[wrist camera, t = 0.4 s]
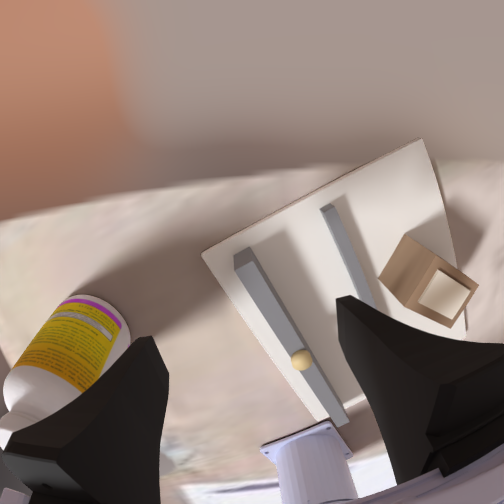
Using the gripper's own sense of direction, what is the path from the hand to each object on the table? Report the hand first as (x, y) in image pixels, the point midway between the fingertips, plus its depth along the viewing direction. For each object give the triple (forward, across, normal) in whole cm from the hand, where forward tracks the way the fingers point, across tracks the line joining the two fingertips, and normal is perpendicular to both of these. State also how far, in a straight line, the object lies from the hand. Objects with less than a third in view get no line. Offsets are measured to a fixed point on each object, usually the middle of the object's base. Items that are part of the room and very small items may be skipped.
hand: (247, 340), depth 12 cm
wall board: (+10, -9, +7) cm, 15 cm away
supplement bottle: (+10, +13, +4) cm, 17 cm away
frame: (+9, -13, +4) cm, 16 cm away
